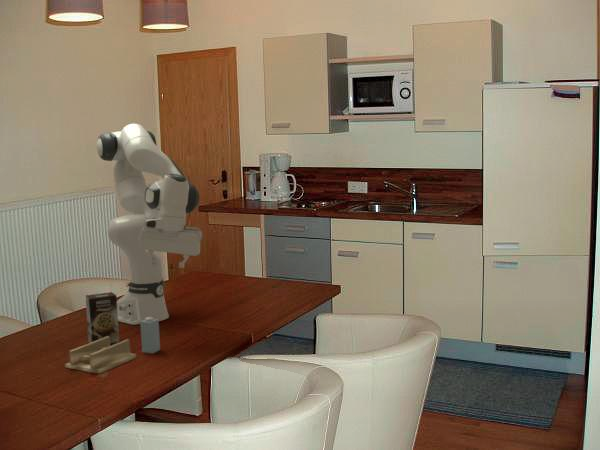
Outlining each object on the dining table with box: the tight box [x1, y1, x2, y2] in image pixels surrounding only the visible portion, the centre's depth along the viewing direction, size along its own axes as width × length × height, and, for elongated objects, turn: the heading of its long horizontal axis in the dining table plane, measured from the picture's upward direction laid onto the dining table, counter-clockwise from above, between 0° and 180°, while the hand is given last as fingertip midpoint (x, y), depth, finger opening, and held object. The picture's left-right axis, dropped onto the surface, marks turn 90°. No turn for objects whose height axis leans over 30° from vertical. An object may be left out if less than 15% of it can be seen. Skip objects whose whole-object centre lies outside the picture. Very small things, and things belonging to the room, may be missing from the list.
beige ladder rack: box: [64, 336, 137, 374], centre depth 229 cm, size 14×16×5 cm
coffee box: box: [85, 291, 120, 345], centre depth 249 cm, size 9×6×16 cm
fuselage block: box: [139, 317, 161, 354], centre depth 238 cm, size 4×4×11 cm
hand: (167, 265), depth 246 cm, fingers open, 8 cm apart
